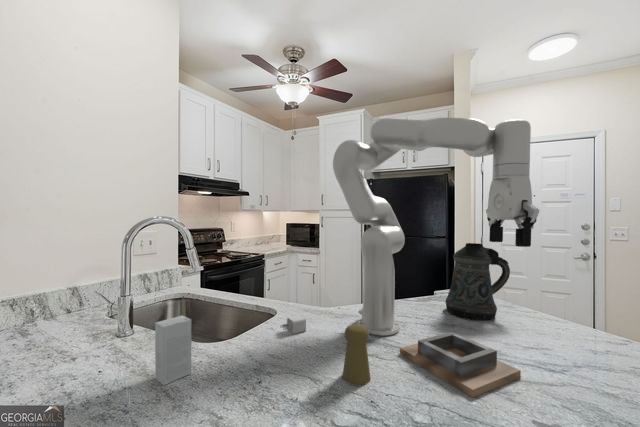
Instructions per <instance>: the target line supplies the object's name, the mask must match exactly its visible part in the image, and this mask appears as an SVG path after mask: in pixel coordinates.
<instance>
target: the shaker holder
mask: <svg viewBox="0 0 640 427" xmlns="http://www.w3.org/2000/svg"><path fill="white" fill-rule="evenodd" d="M399 354H400V355H401V356H403V357H404V358H406V359H408V360H410V361H411V362H412V363H415V364H416V365H418V366H419V367H421V368H423V369H425V370H426V371H428V372H430V373H431V374H433V375H434V376H436V377H438V378H439V379H441V380H443V381H445V382H446V383H448V384H449V385H452V386H453V387H454V388H456V389H458V390H459V391H461V392H463V393H465V394H466V395H468V396H469V397H471V398H475V397H477V396H480V395H483V394H484V393H487V392H490V391H491V390H492V391H493V389H496V388H499V387H501V386H503V385H506V384H508V383H510V382H512V381H515V380H517V379H520V378H521V375H522V374H521V371H522V370H521V369H520V368H516V367H514V366H512V365H510V364H507V363H505V362H503V361H501V360H498V357H497V356H498V351H497V350H496V349H493V348H491V347H490V346H489V347H488V346H486V345H484V344H482V343H479V342H477V341H474V340H472V339H470V338H467V337H465V336H462V335H460V334H458V333H456V332H453V331H449V332H446V333H442V334H438V335H435V336H431V337H430V336H429V337H426V338H423V339H418V340H417V343H413V344H410V345H405V346H403V347H400V348H399Z"/></svg>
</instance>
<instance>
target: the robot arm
mask: <svg viewBox="0 0 640 427" xmlns="http://www.w3.org/2000/svg"><path fill="white" fill-rule="evenodd" d="M531 126H532V125H531V123H530V122H529V121H528V120H525V119H509V120H505V121H502V122H499V123H497V124H496V126H495V127H494V128H491V127H489V126H488V124H486V123H485V122H484V121H482V120H480V119H476V118H466V117H437V118H430V119H424V120H423V119H406V118H404V119H403V118H391V117H390V118H387V117H386V118H380V119H378V120H376V121H375V122H374V123H373V124H372V126H371V129H370V137H371V139H372V141H371V143H369V144H366V143H364V142H361V141H359V140H355V139H349V140H345V141H343V142H341V143H340V144H339V145H338V146H337V147H336V150H335V152H334V154H333V159H332V169H333V173H334V176H335V178H336V180H337V183H338V184H339V187H340V189H341V191H342V194H343V197H344V199H345V201H346V203H347V205H348V208H349V210H350V213H351V215H352V217H353V219H354V221H356V222H357V224H360V225H364V226H365V225H370V227H368V228H367V229H366V230H365V231H364V232H363V234H362V236H361V240H360V249H361V254H362V266H363V267H362V270H363V272H362V277H363V281H362V282H363V285H362V287H363V288H362V289H363V290H362V295H363V296H362V297H363V298H362V299H363V301H362V304H363V305H362V308H361V309H358V311H357V312H358V314H359V315H361V319H360V320H358V322H357V324H359V325H363V326H365V327H366V328H367V329H368V332H369V335H373V336H381V337H382V336H384V337H385V336H392V335H395V334H397V333H399V331H400V329H401V328H400V324H399V323H398V322H396V321H395V295H396V294H395V292H396V291H395V288H396V287H395V286H396V285H395V284H396V281H395V277H396V276H395V273H396V272H395V271H396V270H395V263H394V262H395V261H394V257H393V254H395V253H398V252H400V251H401V250H402V249H403V248H404V245H405V243H406V242H405V240H406V238H405V233H404V231H403V229H402V227H401V225H400V223H399V220H398V218H397V216H396V214H395V212H394V210H393V208H392V205H391V204H390V203H389V202H388V201H387V200H386V199H385V198H383V197H380V196H378V195H377V196H376V195H374V194H373V192H372V190H371V188H370V187H369V186H370V185H369V184H368V181H367V180H366V178H365V177H364V175H363V174H362V173H361V171H371V170H374V169H376V168H377V167H379V166H381V164H383V163H385V162H386V161H387V160H389V159H390V158H392V157H393V156H395V155H396V154H397V153H399V151H401V150H407V151H416V152H421V151H423V152H424V150H427V149H429V148H430V149H431V148H443V149H453V150H461V151H463V152H464V153H465V154H466V155H468V156H470V157H473V158H481V157H486V156H490V155H492V180H491V183H490V186H489V192H488V198H487V200H488V201H487V209H486V210H485V213H486V216H487V221H488V227H489V237H488V238H489V240H488V241H489V242H490V243H502V242H504V226H502V225H503V224H504V221H509V220H511V221H514V222H515V224H516V226H517V228H515V241H514V243H515V246H516V247H518V248H519V247H522V248H523V247H525V248H528V247H531V245H532V230H533V229H534V227H535V226H534V225H535V224H536V222H537V219H538V216H539V213H540V209H539V208H538V207H536V206H535V205H533V198H532V197H533V195H532V194H533V193H532V184H531V178H530V172H531V171H530V168H531V162H530V161H531V133H532V132H531V131H532V129H531V128H532V127H531ZM360 170H361V171H360Z"/></svg>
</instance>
